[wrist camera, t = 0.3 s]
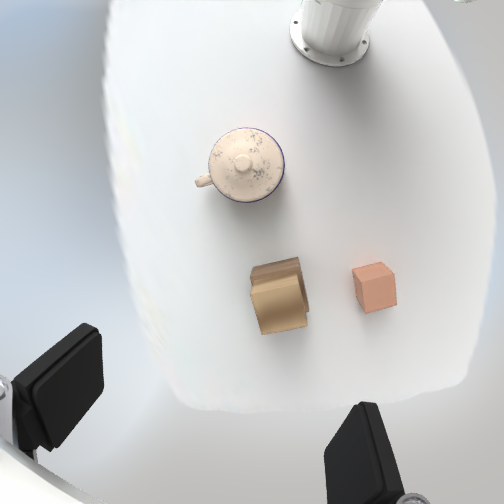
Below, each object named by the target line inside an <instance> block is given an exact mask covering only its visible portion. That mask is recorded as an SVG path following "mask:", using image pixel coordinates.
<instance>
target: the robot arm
mask: <svg viewBox="0 0 504 504" xmlns="http://www.w3.org/2000/svg"><path fill="white" fill-rule="evenodd" d="M382 1H383V0H302V9H300V10H299V11H298V12H297V13H296V14H295V15H294V16H293V18H292V20H291V24H290V36H291V39H292V41H293V43H294V45H295V47H296V48H297V49H298V50H299V51H300V52H301V53H302V54H303V55H304V56H306V57H307V58H309V59H311V60H312V61H314V62H317V63H320V64H322V65H327V66H336V67H338V66H346V65H350V64H353V63H355V62H357V61H358V60H359V59H361V58H362V57H363V55H364V54H365V52H366V51H367V49H368V46H369V35H368V31H367V28H368V26H369V25H370V23H371V21H372V19H373V17H374V16H375V14H376V12H377V10H378V8H379V7H380V5H381V3H382ZM454 1H457V2H462V3H468V2H472V1H475V0H454ZM295 24H297V25H295ZM306 51H308V52H306ZM341 61H343V62H341ZM102 361H103V360H102V336H101V334H99V331H98V329H97V328H95V327H93V326H91V325H89V324H87V323H82V324H81V325H79V326H78V327H77V328H76V329H74V330H73V331H72V332H70V333H69V334H68V335H67V336H65V337H64V338H63V339H62V340H61V341H59V342H58V343H56V345H54V346H53V347H52V348H50V349H49V350H48V351H47V352H45V353H44V354H43V355H41V356H40V357H39V358H38V359H37V360H36V361H34V362H33V363H32V364H30V365H29V366H28V367H27V368H26V369H24V370H23V371H22V372H21V373H20V374H18V375H17V376H16V377H15V378H14V380H13V381H11V382H10V381H9V380H8V379H7V378H6V377H4V376H2V375H0V504H107V503H105V502H103V501H101V500H99V499H97V498H95V497H93V496H91V495H90V494H88V493H86V492H84V491H82V490H80V489H78V488H76V487H75V486H73V485H72V484H70V483H68V482H66V481H65V480H63V479H61V478H60V477H58V476H57V475H55V474H54V473H52V472H50V471H49V470H47V469H46V468H44V467H43V466H41V465H40V464H38V460H37V453H36V449H37V448H38V447H39V445H40V446H42V447H43V448H45V449H46V450H48V451H49V452H51V451H52V450H53V448H54V447H55V448H58V447H59V446H60V445H61V444H62V443H63V441H64V440H65V439H66V437H67V436H68V435H69V434H70V433H71V431H72V430H73V429H74V427H75V426H76V425H77V424H78V422H79V421H80V420H81V419H82V417H83V416H84V415H85V414H86V412H87V411H88V410H89V408H90V407H91V406H92V405H93V404H94V402H95V401H96V400H97V399H98V397H99V396H100V395H101V394H102V392H103V389H104V377H103V362H102ZM324 463H325V475H326V488H327V504H430V502H429V501H428V500H427V499H426V498H425V497H424V496H422V495H420V494H417V493H409V494H405V492H404V488H403V484H402V481H401V477H400V474H399V471H398V467H397V464H396V460H395V457H394V454H393V451H392V447H391V444H390V441H389V439H388V436H387V433H386V430H385V427H384V424H383V421H382V418H381V415H380V412H379V409H378V406H377V404H376V403H371V402H360V403H359V404H358V405H354V406H353V408H352V409H351V411H350V413H349V414H348V416H347V418H346V419H345V420H344V422H343V424H342V425H341V427H340V428H339V430H338V431H337V433H336V434H335V436H334V437H333V439H332V440H331V441H330V443H329V444H328V446H327V447H326V449H325V452H324Z"/></svg>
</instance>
